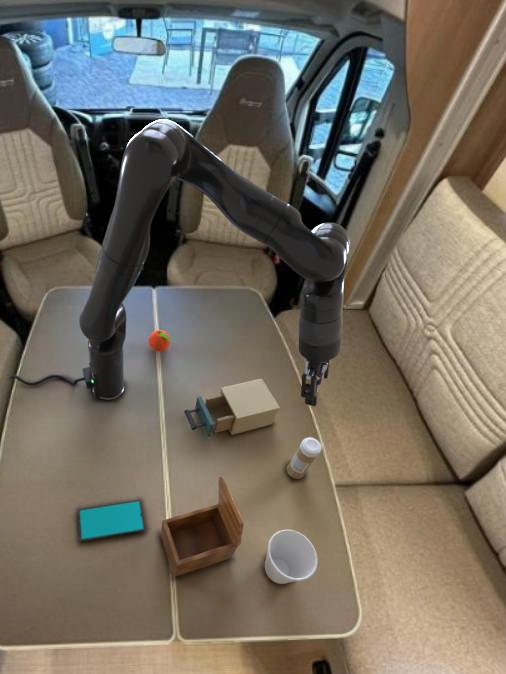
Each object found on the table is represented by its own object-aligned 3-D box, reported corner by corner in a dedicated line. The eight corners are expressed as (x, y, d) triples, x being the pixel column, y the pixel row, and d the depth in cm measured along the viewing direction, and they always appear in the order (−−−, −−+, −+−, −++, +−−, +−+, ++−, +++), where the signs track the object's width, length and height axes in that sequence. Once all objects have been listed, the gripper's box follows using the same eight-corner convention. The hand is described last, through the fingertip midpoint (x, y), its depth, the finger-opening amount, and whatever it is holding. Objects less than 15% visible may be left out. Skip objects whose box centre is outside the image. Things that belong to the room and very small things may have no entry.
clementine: (176, 347, 135) (178, 331, 130) (165, 360, 131) (166, 345, 126) (155, 337, 138) (156, 322, 132) (144, 350, 134) (144, 334, 128)
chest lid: (239, 524, 75) (243, 523, 75) (218, 477, 81) (222, 475, 81) (237, 545, 86) (240, 544, 86) (218, 502, 92) (221, 501, 92)
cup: (250, 547, 95) (262, 531, 86) (292, 544, 96) (308, 527, 87) (262, 595, 88) (276, 582, 80) (307, 591, 89) (325, 578, 81)
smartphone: (77, 509, 98) (139, 500, 100) (78, 511, 99) (139, 501, 101) (79, 541, 94) (144, 530, 96) (80, 542, 94) (144, 531, 96)
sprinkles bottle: (307, 473, 107) (326, 447, 97) (295, 482, 106) (313, 457, 95) (294, 460, 110) (311, 433, 99) (282, 468, 108) (298, 442, 98)
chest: (174, 577, 90) (177, 565, 84) (160, 534, 96) (162, 520, 90) (230, 558, 93) (238, 545, 87) (213, 517, 99) (219, 503, 92)
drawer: (192, 441, 111) (195, 429, 107) (180, 413, 117) (182, 400, 112) (245, 427, 115) (250, 414, 110) (231, 401, 120) (235, 388, 116)
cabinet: (231, 435, 114) (237, 418, 108) (216, 404, 121) (220, 387, 114) (272, 424, 117) (280, 407, 111) (255, 395, 123) (261, 378, 117)
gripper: (310, 307, 84) (308, 365, 95) (287, 351, 76) (288, 409, 87) (350, 312, 80) (343, 372, 91) (330, 359, 72) (325, 419, 83)
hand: (316, 390), depth 89 cm, fingers open, 8 cm apart
